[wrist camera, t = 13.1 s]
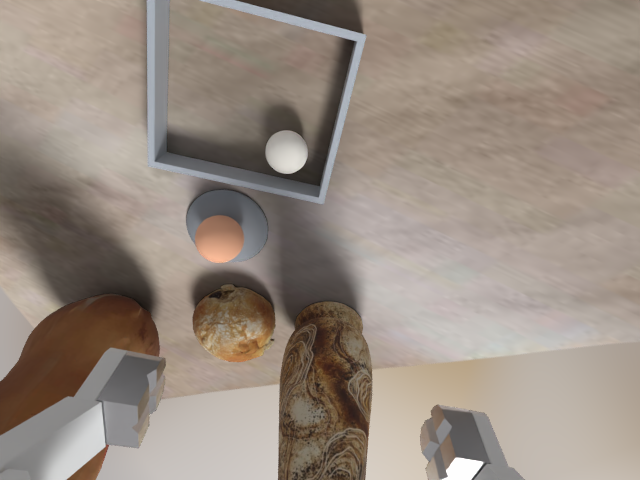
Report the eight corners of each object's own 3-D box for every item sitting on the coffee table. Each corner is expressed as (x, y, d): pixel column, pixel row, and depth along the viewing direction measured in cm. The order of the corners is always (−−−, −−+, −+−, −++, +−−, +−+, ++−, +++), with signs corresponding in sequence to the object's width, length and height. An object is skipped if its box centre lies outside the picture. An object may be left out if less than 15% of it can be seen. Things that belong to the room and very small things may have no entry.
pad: (274, 199, 40) (273, 200, 39) (261, 267, 44) (261, 268, 44) (189, 181, 39) (188, 182, 39) (185, 252, 43) (184, 253, 43)
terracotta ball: (252, 213, 40) (238, 235, 36) (246, 252, 42) (233, 277, 38) (207, 202, 40) (188, 222, 36) (204, 241, 42) (185, 265, 38)
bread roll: (264, 266, 49) (238, 280, 41) (295, 338, 49) (275, 365, 41) (202, 292, 51) (166, 310, 43) (231, 360, 51) (201, 390, 43)
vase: (370, 351, 51) (412, 694, 25) (293, 359, 52) (257, 695, 26) (361, 291, 46) (404, 644, 20) (277, 301, 47) (211, 647, 21)
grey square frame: (363, 34, 32) (366, 34, 29) (323, 192, 39) (323, 204, 37) (162, -19, 30) (146, -24, 28) (160, 156, 38) (147, 166, 35)
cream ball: (312, 131, 36) (310, 142, 33) (304, 169, 38) (301, 184, 34) (272, 121, 36) (265, 131, 32) (265, 160, 38) (259, 174, 34)
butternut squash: (149, 365, 53) (24, 599, 31) (55, 321, 49) (-161, 553, 28) (194, 305, 47) (79, 541, 26) (91, 250, 44) (-145, 472, 22)
